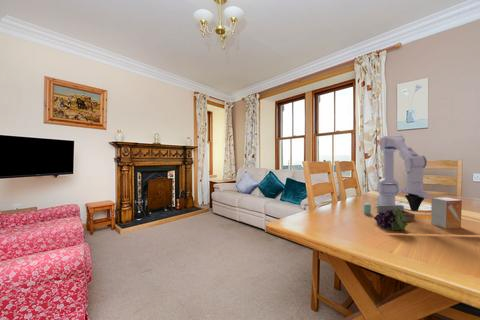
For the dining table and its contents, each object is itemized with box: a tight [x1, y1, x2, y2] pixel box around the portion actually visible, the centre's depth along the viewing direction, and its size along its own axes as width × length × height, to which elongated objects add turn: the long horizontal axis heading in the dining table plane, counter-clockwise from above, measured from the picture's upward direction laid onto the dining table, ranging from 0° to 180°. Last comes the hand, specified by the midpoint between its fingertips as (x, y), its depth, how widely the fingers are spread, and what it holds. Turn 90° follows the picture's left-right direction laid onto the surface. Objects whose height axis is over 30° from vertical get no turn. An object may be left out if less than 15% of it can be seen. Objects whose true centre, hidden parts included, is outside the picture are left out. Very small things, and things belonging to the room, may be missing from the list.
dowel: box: [363, 202, 372, 215], centre depth 110 cm, size 3×3×6 cm
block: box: [396, 209, 416, 221], centre depth 102 cm, size 7×7×3 cm
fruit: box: [373, 208, 412, 232], centre depth 88 cm, size 10×10×15 cm
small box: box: [430, 196, 463, 229], centre depth 91 cm, size 8×6×13 cm
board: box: [376, 204, 405, 214], centre depth 102 cm, size 18×13×5 cm
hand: (414, 210), depth 94 cm, fingers closed
